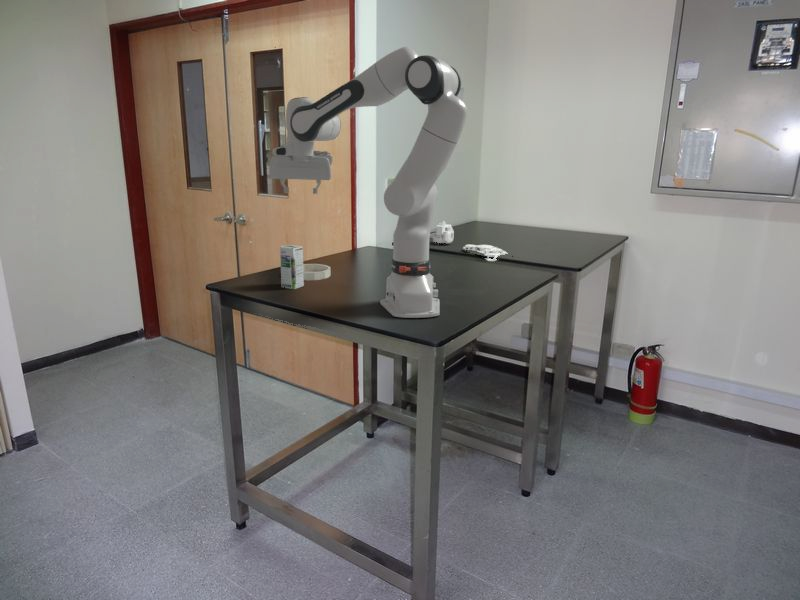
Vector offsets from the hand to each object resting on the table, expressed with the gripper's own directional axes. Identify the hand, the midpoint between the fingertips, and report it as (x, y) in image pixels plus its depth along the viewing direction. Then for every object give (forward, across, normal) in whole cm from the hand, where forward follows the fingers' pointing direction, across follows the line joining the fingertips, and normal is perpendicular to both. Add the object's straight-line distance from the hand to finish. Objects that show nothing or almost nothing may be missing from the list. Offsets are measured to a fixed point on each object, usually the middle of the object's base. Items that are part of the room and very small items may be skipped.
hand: (300, 193), depth 181 cm
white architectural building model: (+32, -82, -51) cm, 102 cm away
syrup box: (+32, +3, +2) cm, 33 cm away
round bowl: (+32, -2, -14) cm, 35 cm away
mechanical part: (+32, -64, -78) cm, 106 cm away
